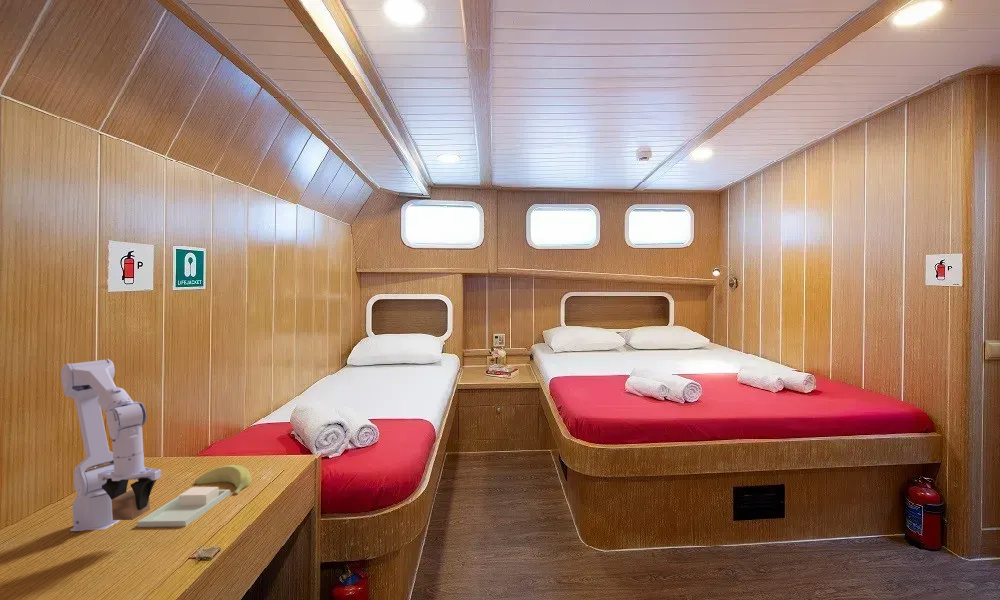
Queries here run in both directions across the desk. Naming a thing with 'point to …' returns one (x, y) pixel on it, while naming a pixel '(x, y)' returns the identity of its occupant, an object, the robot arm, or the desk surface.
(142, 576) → the desk surface
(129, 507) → the walnut block
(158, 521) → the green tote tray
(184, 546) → the desk surface
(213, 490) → the pale pink block
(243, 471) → the banana
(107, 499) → the robot arm
